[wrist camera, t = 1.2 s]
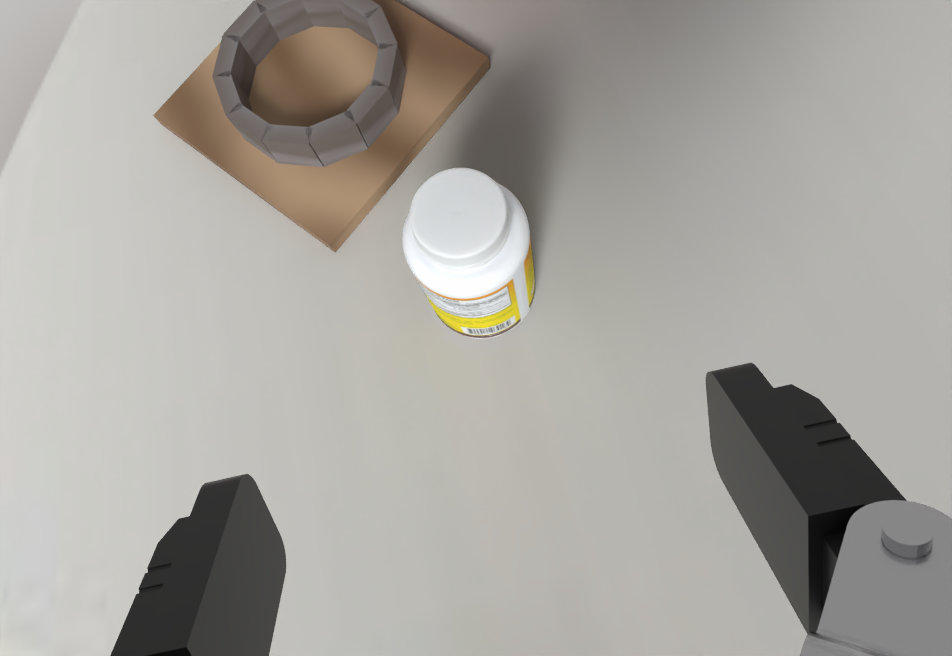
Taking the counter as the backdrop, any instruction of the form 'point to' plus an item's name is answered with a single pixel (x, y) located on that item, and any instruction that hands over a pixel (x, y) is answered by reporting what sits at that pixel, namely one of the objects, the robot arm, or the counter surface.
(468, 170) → the supplement bottle
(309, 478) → the counter surface
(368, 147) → the ring collar
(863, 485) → the robot arm
